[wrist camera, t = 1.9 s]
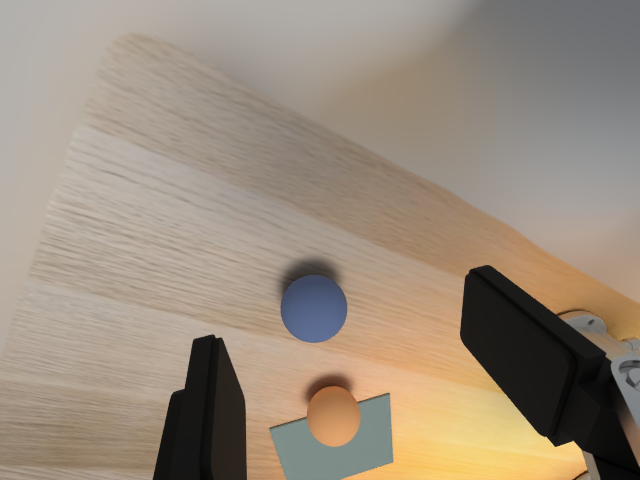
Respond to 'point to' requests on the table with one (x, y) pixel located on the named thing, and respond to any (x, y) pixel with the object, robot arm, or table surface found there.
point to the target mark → (337, 462)
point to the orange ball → (333, 416)
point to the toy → (584, 477)
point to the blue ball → (313, 308)
